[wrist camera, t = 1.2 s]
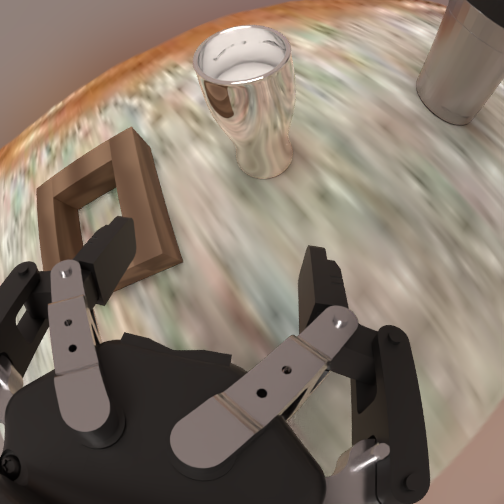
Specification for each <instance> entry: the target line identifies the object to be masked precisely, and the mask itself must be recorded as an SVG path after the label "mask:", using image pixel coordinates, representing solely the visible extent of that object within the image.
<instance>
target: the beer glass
mask: <svg viewBox="0 0 504 504" xmlns="http://www.w3.org/2000/svg"><path fill="white" fill-rule="evenodd" d="M193 67H194V69H195V71H196V74H197V77H198V81H199V84H200V87H201V90H202V93H203V96H204V99H205V101H206V104H207V106H208V108H209V110H210V112H211V114H212V116H213V118H214V119H215V120H216V122H217V123H218V125H219V126H220V128H221V129H222V130H223V131H224V132H225V134H226V135H227V136H228V137H229V139H230V140H231V141H232V142H233V143H234V145H235V147H236V160H237V163H238V165H239V167H240V168H241V170H242V171H243V172H244V173H246V174H247V175H249V176H251V177H254V178H258V179H268V178H273V177H276V176H278V175H280V174H281V173H283V172H284V171H285V170H286V169H287V168H288V167H289V165H290V163H291V161H292V157H293V149H292V145H291V143H290V140H289V138H288V132H289V128H290V125H291V121H292V117H293V113H294V108H295V102H296V82H295V72H294V66H293V60H292V55H291V46H290V43H289V41H288V39H287V38H286V37H285V36H284V35H283V34H281V33H280V32H278V31H276V30H274V29H272V28H269V27H265V26H259V25H242V26H235V27H231V28H228V29H225V30H222V31H220V32H217V33H215V34H214V35H212V36H210V37H209V38H207V39H206V40H205V41H204V42H203V43H202V44H201V45H200V46H199V47H198V48H197V50H196V52H195V54H194V57H193Z"/></svg>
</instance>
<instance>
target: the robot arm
mask: <svg viewBox="0 0 504 504" xmlns="http://www.w3.org/2000/svg"><path fill="white" fill-rule="evenodd" d="M503 79H504V0H449V3H448V6H447V8H446V11H445V14H444V16H443V19H442V22H441V24H440V27H439V29H438V32H437V35H436V37H435V40H434V42H433V44H432V47H431V49H430V52H429V54H428V56H427V59H426V61H425V63H424V65H423V68H422V70H421V72H420V75H419V77H418V79H417V83H416V87H417V91H418V94H419V96H420V98H421V100H422V101H423V102H424V104H425V105H426V106H427V107H428V108H429V109H430V110H431V111H432V112H433V113H434V114H435V115H437V116H438V117H440V118H441V119H443V120H445V121H447V122H449V123H452V124H456V125H465V124H468V123H469V122H470V121H471V120H472V119H473V118H474V116H475V115H476V114H477V113H478V111H479V110H480V109H481V108H482V106H483V105H484V104H485V103H486V101H487V100H488V99H489V98H490V96H491V95H492V94H493V92H494V91H495V90H496V88H497V87H498V85H499V84H500V83H501V81H502V80H503ZM135 254H136V238H135V228H134V221H133V219H132V218H129V217H121V216H117V217H115V218H114V220H113V221H112V222H111V223H110V224H109V225H105V226H104V227H102V228H100V229H99V230H97V231H96V232H95V234H94V235H93V236H92V238H90V239H89V240H88V242H87V243H86V244H85V245H84V246H83V247H82V249H81V250H80V251H79V252H78V253H77V255H76V256H75V257H74V258H73V259H72V260H64V261H61V262H59V263H57V264H56V265H55V266H54V267H53V268H52V270H51V271H38V269H37V266H36V264H35V263H34V262H30V261H28V262H23V263H21V264H19V265H17V266H16V267H15V268H14V269H13V270H12V272H11V273H10V274H9V275H8V277H7V278H6V279H5V281H4V282H3V283H2V285H1V286H0V423H2V424H4V425H5V440H4V448H3V452H2V455H1V457H0V504H413V503H416V502H418V501H419V500H421V499H422V498H423V497H424V496H425V495H426V493H427V491H428V489H429V486H430V471H429V458H428V447H427V438H426V429H425V422H424V415H423V408H422V402H421V396H420V390H419V385H418V379H417V374H416V369H415V365H414V360H413V355H412V351H411V347H410V342H409V339H408V337H407V335H406V334H405V333H404V332H403V331H402V330H401V329H400V328H398V327H395V326H392V325H385V326H383V327H381V328H380V329H379V331H378V332H377V331H375V330H372V329H369V328H367V327H364V326H362V325H360V324H359V323H358V319H357V317H356V315H355V314H354V313H353V312H352V311H351V310H349V308H348V303H347V298H346V293H345V288H344V286H343V285H344V283H343V279H342V274H341V269H340V268H339V266H338V265H337V264H336V262H335V261H332V260H327V256H326V250H325V248H322V247H316V246H310V245H308V247H307V249H306V253H305V256H304V260H303V264H302V267H301V271H300V274H299V280H298V298H299V335H298V336H297V337H296V336H295V335H291V336H290V337H288V338H287V339H286V340H285V341H284V342H283V343H282V344H280V345H279V346H278V347H277V348H276V349H275V350H274V351H272V352H271V353H270V354H269V355H268V356H267V357H266V358H264V359H263V360H262V361H261V362H260V363H259V364H257V365H256V366H255V367H254V368H253V369H251V370H250V371H249V372H247V371H245V370H244V369H242V368H241V367H239V366H237V365H235V364H232V363H231V356H232V355H229V354H223V353H218V352H212V351H206V350H172V349H170V348H167V347H165V346H163V345H161V344H159V343H157V342H155V341H153V340H151V339H149V338H145V337H141V336H137V335H133V334H129V333H125V332H124V334H123V336H122V338H121V340H111V341H106V342H103V343H102V339H101V336H100V332H99V328H98V324H97V320H96V316H95V312H94V309H93V307H94V306H95V304H99V305H103V306H105V305H106V303H107V301H108V300H109V298H110V296H111V295H112V293H113V291H114V290H115V288H116V286H117V285H118V283H119V281H120V280H121V278H122V276H123V275H124V273H125V272H126V270H127V268H128V267H129V265H130V264H131V262H132V261H133V259H134V257H135ZM23 304H24V306H25V308H26V312H25V313H24V315H23V316H22V318H21V320H20V321H19V323H18V325H17V326H16V316H17V314H18V312H19V310H20V309H21V307H22V306H23ZM48 327H50V337H51V346H52V353H53V360H54V367H55V369H54V370H52V371H50V372H49V373H47V374H45V375H43V376H42V377H40V378H38V379H36V380H35V381H33V382H31V383H29V384H28V385H26V386H24V387H23V377H24V374H25V372H26V370H27V368H28V366H29V364H30V362H31V360H32V358H33V356H34V354H35V352H36V350H37V348H38V346H39V344H40V342H41V340H42V338H43V337H44V335H45V333H46V331H47V329H48ZM331 371H333V372H336V373H338V374H341V375H344V376H346V377H349V378H351V404H352V447H351V448H349V449H348V450H347V451H345V452H344V453H343V454H341V456H340V457H339V459H338V461H337V464H336V468H335V471H334V473H333V474H332V475H331V476H330V477H325V475H324V473H323V471H322V469H321V467H320V466H319V464H318V463H317V462H316V460H315V459H314V458H313V457H312V455H311V454H310V453H309V451H308V450H307V449H306V448H305V446H304V445H303V444H302V442H301V441H300V440H299V438H298V437H297V436H296V434H295V433H294V432H293V430H292V429H291V428H290V426H289V425H288V424H287V421H288V420H289V419H290V418H291V417H292V416H293V415H294V414H295V413H296V412H297V411H298V409H299V408H300V407H301V406H302V404H303V403H304V402H305V401H306V400H307V398H308V397H309V396H310V395H311V394H312V393H313V392H314V390H315V389H316V388H317V387H318V386H319V385H320V384H321V382H322V381H323V380H324V379H325V378H326V377H327V375H328V374H329V373H330V372H331Z"/></svg>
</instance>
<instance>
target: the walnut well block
mask: <svg viewBox="0 0 504 504" xmlns="http://www.w3.org/2000/svg"><path fill="white" fill-rule="evenodd" d="M116 187H117V192H118V198H119V203H120V207H121V212H122V217H129V218H132V219H133V221H134V228H135V238H136V254H135V257H134V259H133V261H132V262H131V264H130V265H129V267H128V268H127V270H126V272H125V273H124V275H123V276H122V278H121V280H120V281H119V283H118V285H117V286H116V288H115V290H114V291H117V290H119V289H121V288H123V287H126V286H128V285H130V284H133V283H135V282H137V281H140V280H142V279H144V278H147V277H149V276H151V275H154V274H156V273H158V272H161V271H163V270H165V269H168V268H170V267H172V266H175V265H177V264H179V263H182V262H183V260H182V257H181V254H180V251H179V248H178V244H177V241H176V238H175V235H174V232H173V228H172V225H171V222H170V218H169V215H168V211H167V208H166V204H165V201H164V197H163V194H162V190H161V187H160V183H159V179H158V176H157V172H156V168H155V164H154V160H153V156H152V152H151V148H150V147H149V146H148V144H147V143H146V142H145V141H144V140H143V139H142V138H141V137H140V135H139V134H138V133H137V132H136V131H135V130H134V129H133V128H132V127H130V128H128V129H126V130H124V131H123V132H121V133H119V134H117V135H116V136H114V137H112V138H111V139H109V140H107V141H105V142H104V143H102V144H101V145H99V146H97V147H96V148H94V149H93V150H91V151H89V152H88V153H86V154H85V155H83V156H82V157H80V158H79V159H77V160H76V161H74V162H73V163H71V164H70V165H68V166H67V167H65V168H64V169H63V170H61V171H60V172H58V173H57V174H56V175H54V176H53V177H51V178H50V179H49V180H47V181H46V182H45V183H43V184H42V185H41V186H40V187H38V188H37V213H38V228H39V239H40V249H41V257H42V264H43V271H51V270H52V268H53V267H54V266H55V265H56V264H57V263H59V262H61V261H64V260H72V259H73V258H74V257H75V256H76V255H77V253H78V252H79V251H80V250H81V249H82V247H83V242H82V236H81V230H80V223H79V216H78V209H80V208H82V207H83V206H85V205H86V204H88V203H90V202H91V201H93V200H95V199H97V198H98V197H100V196H102V195H103V194H105V193H107V192H109V191H110V190H112V189H114V188H116ZM114 291H113V292H114Z"/></svg>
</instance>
